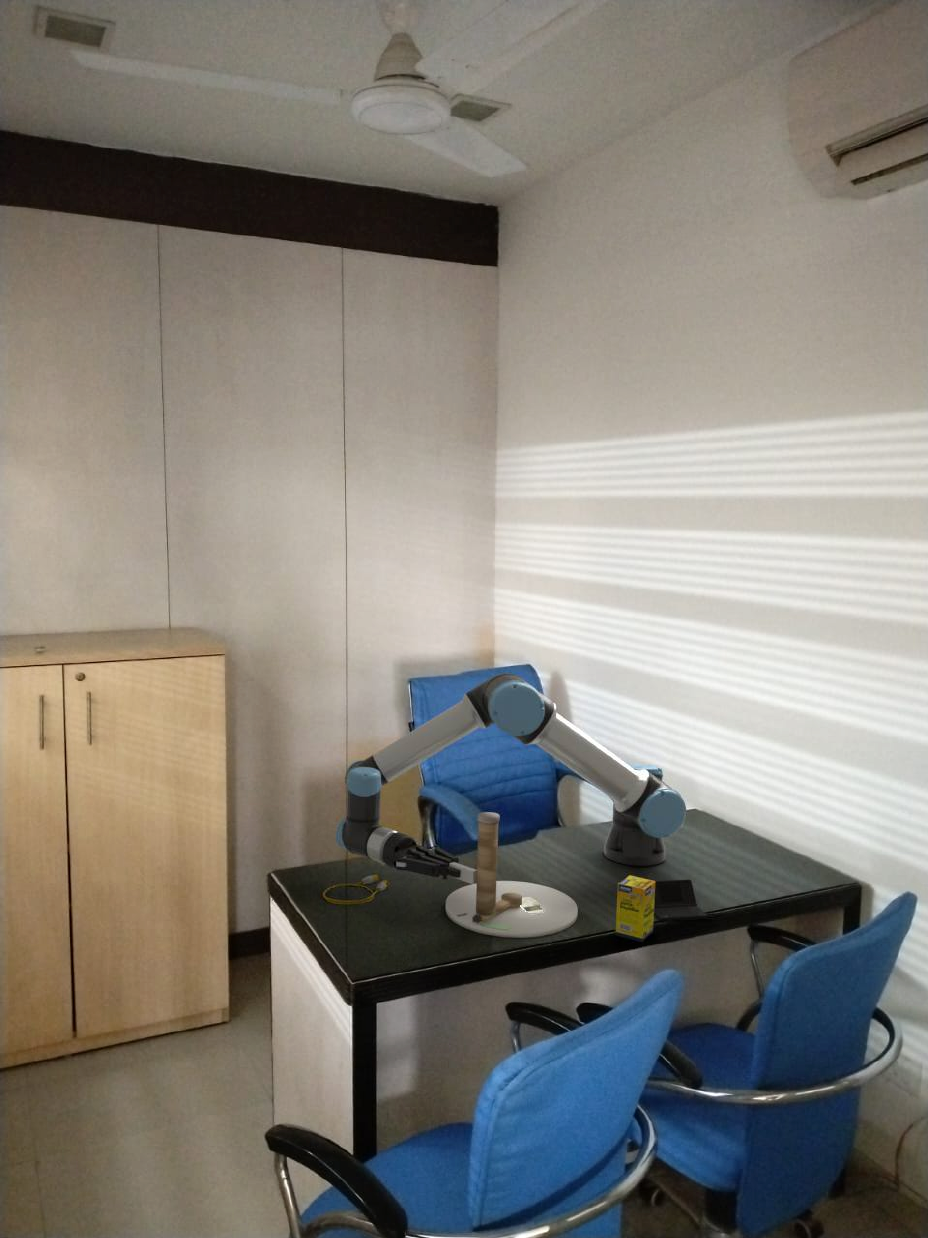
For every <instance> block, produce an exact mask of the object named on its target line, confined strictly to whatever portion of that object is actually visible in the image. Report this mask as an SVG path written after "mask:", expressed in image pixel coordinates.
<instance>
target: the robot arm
mask: <svg viewBox="0 0 928 1238" xmlns="http://www.w3.org/2000/svg"><path fill="white" fill-rule="evenodd" d="M494 724H495V726H496V727H497V729H499V730H501V731H502V732H503V733H505V734H508V735H511V736H512V737H514V738H515V739H517V740H518V741H519V742H521V743H522V744H524V746H530V745H533V744H534V745H535V746H538V748H539V747H540V748H541V749H542V750H544V752H546V754H547V753H548V754H549V755H551V756H552V757H553V758H554V759H556V760H558V762H560V763H561V764H563V765H564V766H566V767H567V768H569V770H571V771H572V772H574V773H576V774H577V775H578V776H580V777H581V778H582V779H584V780H585V781H586V782H588V783H589V784H591V785H592V786H594V787H595V788H596V789H598V790H599V791H600V792H602V793H603V794H605V795H606V796H607V797H609V798H610V799H612V800H613V801H612V803H613V804H612V823H611V825H610V829H609V832H608V834H607V837H606V840H605V842H604V846H603V854H604V857H605V858H607V859H609V861H610V860H611V861H612V862H615V863H618V864H622V865H626V866H639V867H640V866H641V867H642V866H643V867H646V866H654V865H658V864H661V863H663V862H664V861H666V855H667V854H666V851H667V850H666V846H665V843H664V838H668V837H671V836H673V835H674V834H676V833H677V832H678V831H679V830H680V829H681V827H682V826H683V825H684V823H685V820H686V817H687V807H686V806H687V805H686V803H685V800H684V799H683V797H682V796H681V794H680V793H679V792H678V791H677V790H675V789H673V788H672V787H670V785H668V784H667V783H665V781H663V778H664V774H663V769H662V767H660V766H659V765H656V764H655V765H653V764H647V763H646V764H644V763H643V764H642V763H626V762H625V761H623V760H622V759H621V758H619V757H618V756H617V755H615V754H614V753H612V752H611V751H610V750H608V748H607V747H604V746H602V745H601V744H600V743H599V742H598V741H596V740H594V739H593V738H591V737H590V736H589V735H588V734H586V733H585V732H583V731H582V730H581V729H580V728H579V727H577V726H576V725H574V724H573V723H571V721H569V720H567V719H566V718H564V717H563V716H562V715H560V714H559V713H558V712H557V706H556V703H555V702H554V701H553V700H551V699H550V698H548V697H547V696H546V695H544V694H543V693H541V692H540V691H538V690H537V689H536V688H535V686H532V684H529V683H528V682H526V680H524V679H523V678H522V677H521V676H519V675H517V674H515V673H511V672H504V673H502V672H501V673H498V674H495V675H494V676H491V677H490V678H489V677H488V678H487V679H486V680H485V681H483V682H481V683H480V684H478V685H476V686H475V687H474V688H472V689H471V690H469V691H467V692H466V693H463V697H462V700H461V701H459V702H458V703H456V704H454V705H452V706H451V707H450V708H448V709H446V710H444V711H443V712H441V713H439V714H438V715H436V716H435V717H433V718H431V719H430V720H428V721H426V722H425V723H422V724H421V725H420V726H418V727H417V728H415V729H413V730H412V731H410V732H408V733H407V734H405V735H404V736H401V737H400V738H398V739H397V740H395V741H394V742H392V743H390V744H389V745H387V746H386V747H383V748H381V749H380V750H379V751H377V752H375V753H374V754H372V755H371V756H369V757H367V758H366V759H360V760H355V761H354V762H352V763H351V764H350V765H349V766H348V767H347V769H346V773H345V775H344V776H345V777H344V780H345V785H346V816H345V817H344V818H343V819H341V820H340V822H339V823H338V824H337V829H336V830H335V836H334V837H335V841H336V844H337V845H338V847H340V848H341V849H343V850H345V851H347V852H349V853H350V854H353V855H357V856H360V857H364V858H367V859H369V860H372V861H375V862H378V863H380V865H382V866H385V865H386V866H388V867H391V868H393V869H396V870H397V871H406V872H411V873H415V874H418V875H419V874H420V875H424V876H429V877H433V878H440V876H442V880H448V877H451V878H454V879H455V880H456V879H457V880H460V881H462V882H464V883H467V884H469V885H472V884H476V883H477V868H476V869H475V868H473V867H469V866H467V865H464V864H461V863H460V862H459V861H460V858H459V857H457V856H456V855H453V854H452V853H449V852H448V851H445V850H444V849H442V848H441V847H440V846H439V845H437V844H435V845H433V847H432V848H430V849H429V848H427V847H426V846H423V845H420V844H417V842H416V840H415V839H414V838H413V836H412V835H408V834H405V833H402V832H399V831H396V830H394V829H390V828H387V827H384V826H381V825H380V822H381V821H380V819H381V816H380V813H381V798H382V797H381V796H382V795H381V794H382V792H381V790H382V787H384V786H385V785H387V784H388V783H390V782H391V781H394V780H395V779H396V778H398V777H399V776H401V775H403V774H404V773H406V772H407V771H410V770H411V769H413V768H414V767H416V766H418V765H420V764H421V763H423V762H424V761H426V760H428V759H429V758H431V757H433V756H434V755H436V754H437V753H439V752H441V751H442V750H444V749H446V748H447V747H450V746H451V745H452V744H454V743H456V742H458V741H459V740H460V739H462V738H464V737H466V736H468V735H469V734H470V733H472V732H474V731H475V730H477V729H487V728H488V727H491V726H492V725H494Z"/></svg>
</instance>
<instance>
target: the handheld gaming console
mask: <svg viewBox="0 0 928 1238" xmlns="http://www.w3.org/2000/svg"><path fill="white" fill-rule="evenodd" d="M654 881H655V882H656V883H655V899H654V918H656V919H657V920H658V922H661V923H663V922H677V921H678V922H679V921H695V920H702V919H703V920H708V914H707V913H705V912H704V911H703V910H702V909H701V908H700V907H699V906H698V904H697V900H696V896H695V895H696V894H695V891H694V886H693V881H692V879H675V880H658V881H656V880H654Z"/></svg>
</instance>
